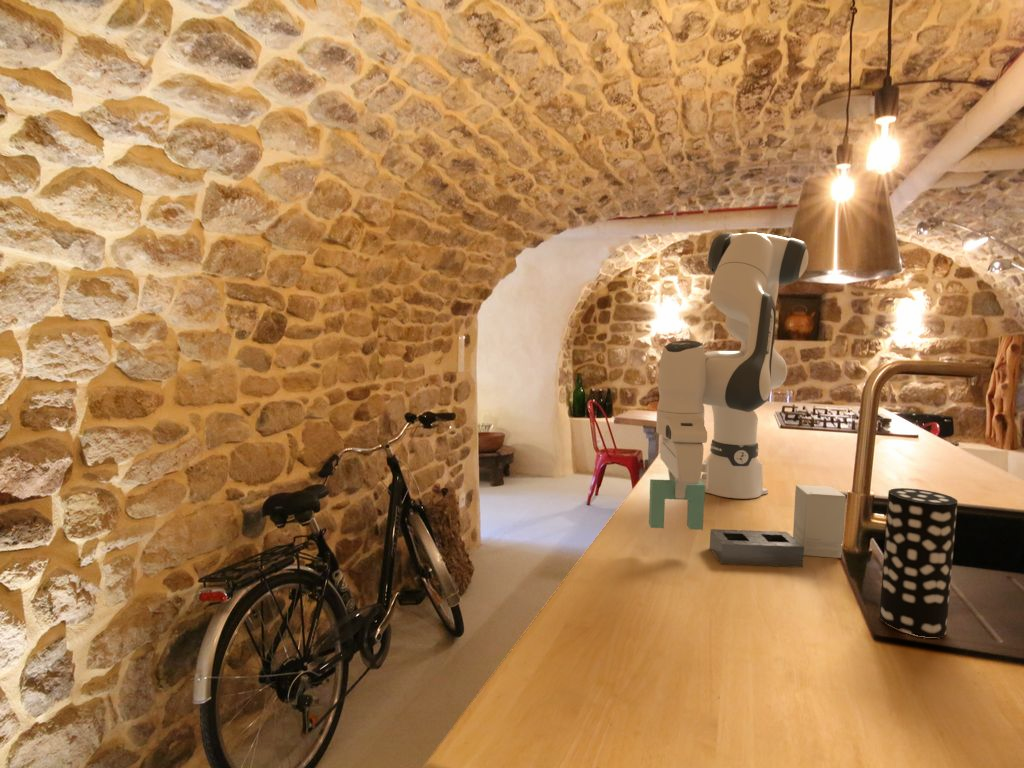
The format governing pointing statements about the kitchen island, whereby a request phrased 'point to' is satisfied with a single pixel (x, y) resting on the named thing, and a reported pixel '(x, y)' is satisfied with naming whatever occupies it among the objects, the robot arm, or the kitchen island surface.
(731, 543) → the gray socket base
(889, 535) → the white-spotted black cylinder
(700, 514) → the green u-shaped block
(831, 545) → the supplement box
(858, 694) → the kitchen island surface
